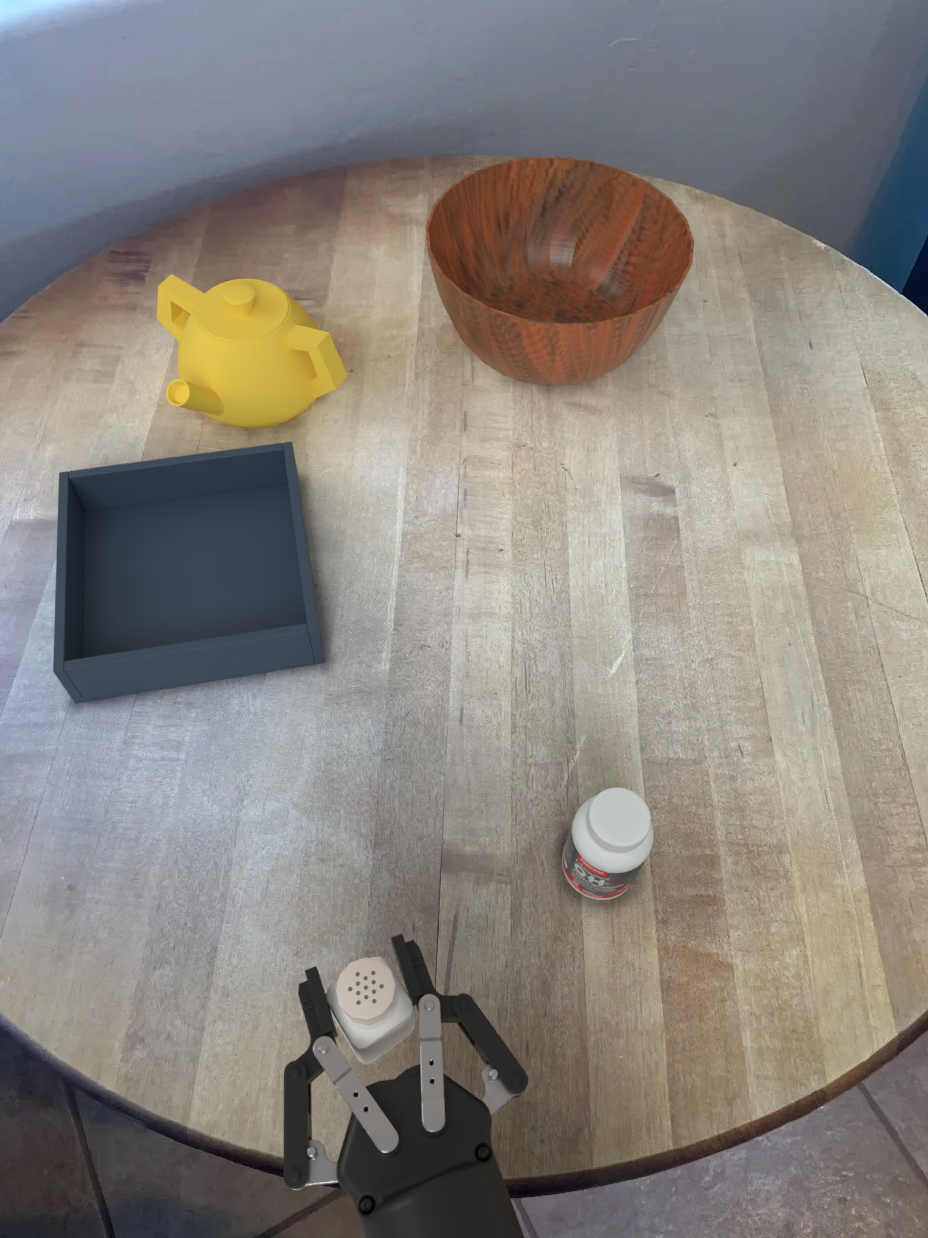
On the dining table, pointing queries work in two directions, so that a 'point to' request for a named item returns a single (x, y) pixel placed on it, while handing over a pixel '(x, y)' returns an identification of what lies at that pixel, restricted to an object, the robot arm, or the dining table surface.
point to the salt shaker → (371, 1008)
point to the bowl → (556, 265)
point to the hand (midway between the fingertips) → (354, 956)
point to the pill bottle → (608, 843)
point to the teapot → (246, 352)
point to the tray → (182, 573)
